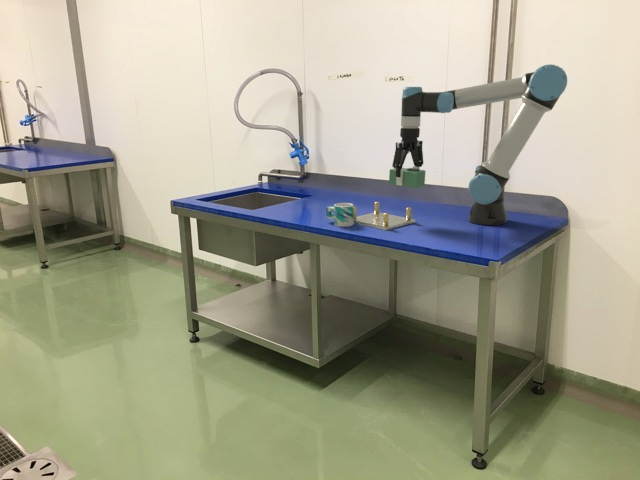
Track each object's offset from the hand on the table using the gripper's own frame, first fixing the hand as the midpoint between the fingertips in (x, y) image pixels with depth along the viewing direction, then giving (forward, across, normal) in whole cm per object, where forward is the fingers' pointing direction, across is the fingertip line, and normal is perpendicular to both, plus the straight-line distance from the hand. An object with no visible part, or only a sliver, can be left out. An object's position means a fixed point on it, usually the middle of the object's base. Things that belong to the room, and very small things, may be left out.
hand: (407, 183), depth 217 cm
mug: (+18, +19, -19) cm, 32 cm away
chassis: (+17, +6, -8) cm, 20 cm away
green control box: (0, 0, 0) cm, 1 cm away
